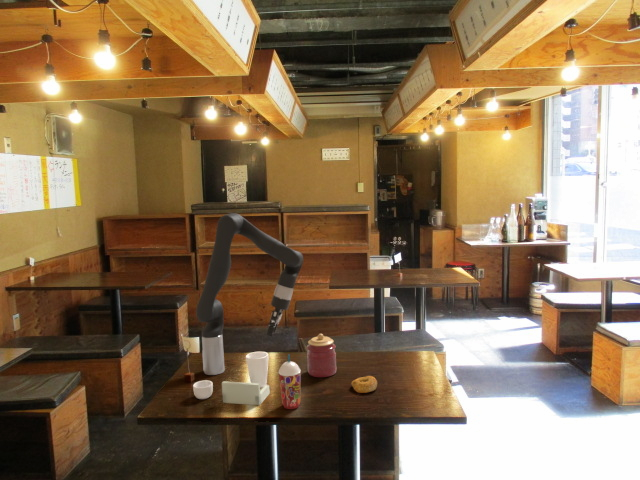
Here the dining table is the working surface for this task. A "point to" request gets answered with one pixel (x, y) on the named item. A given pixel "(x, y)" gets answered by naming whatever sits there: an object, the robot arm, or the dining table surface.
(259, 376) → the foam cup
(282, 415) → the dining table surface
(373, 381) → the bagel
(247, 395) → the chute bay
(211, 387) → the teacup
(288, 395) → the smoothie
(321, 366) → the canister
